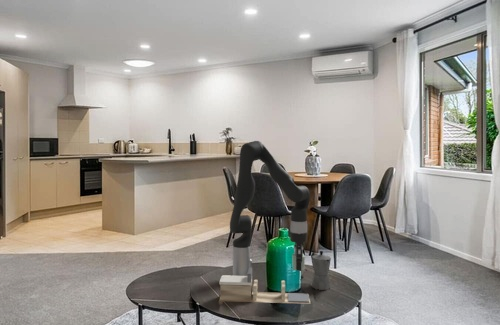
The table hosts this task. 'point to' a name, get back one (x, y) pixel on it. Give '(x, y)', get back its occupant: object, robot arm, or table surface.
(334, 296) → the table surface
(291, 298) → the slate pad
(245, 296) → the puzzle board
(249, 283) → the slide cover
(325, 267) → the coffeepot
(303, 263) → the sage block
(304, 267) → the game die
